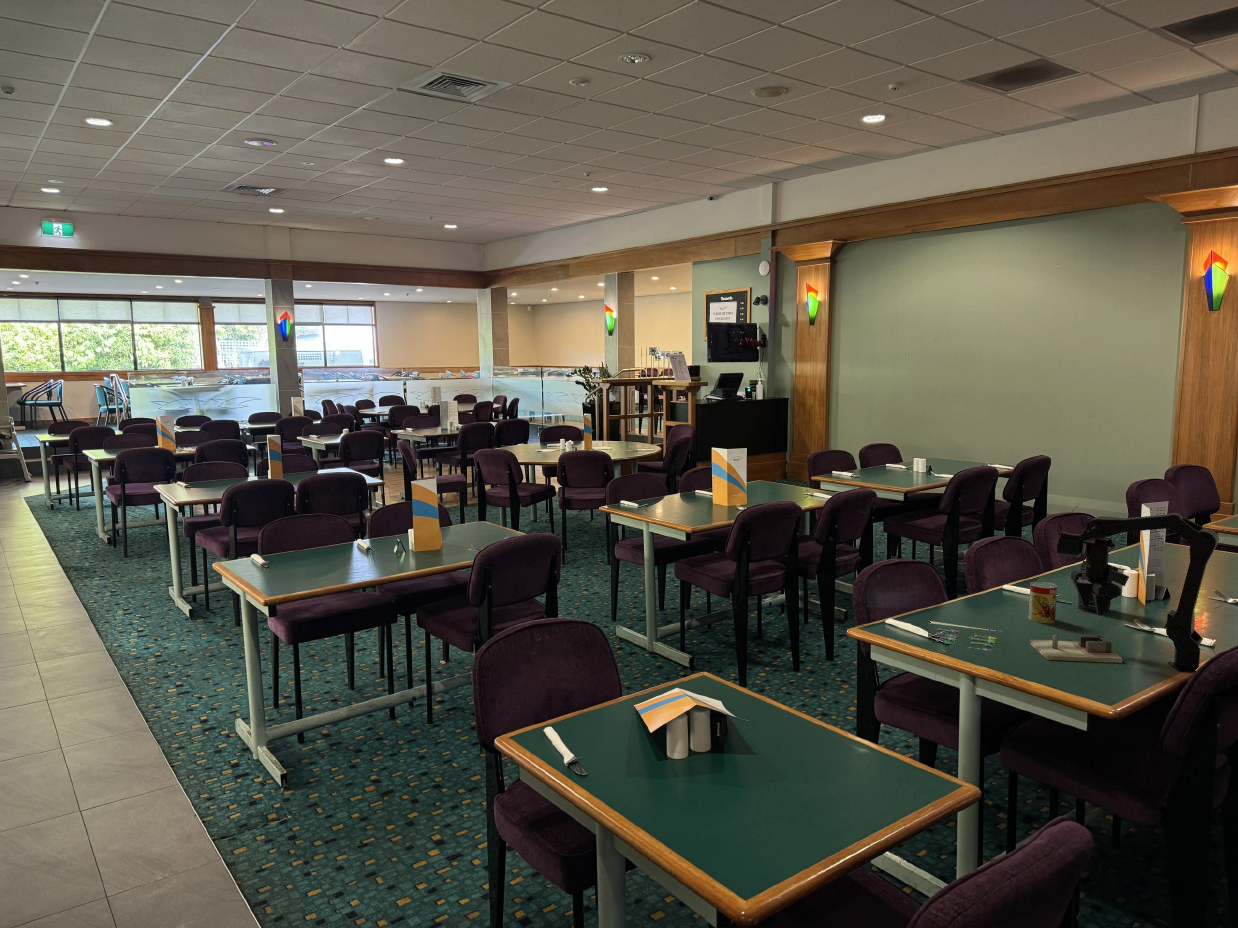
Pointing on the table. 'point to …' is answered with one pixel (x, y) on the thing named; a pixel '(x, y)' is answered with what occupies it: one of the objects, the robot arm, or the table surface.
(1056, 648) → the board
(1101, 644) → the c link
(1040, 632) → the table surface
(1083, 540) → the robot arm
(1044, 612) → the canned food
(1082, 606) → the storage jar
